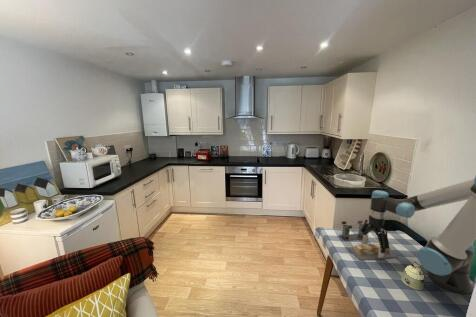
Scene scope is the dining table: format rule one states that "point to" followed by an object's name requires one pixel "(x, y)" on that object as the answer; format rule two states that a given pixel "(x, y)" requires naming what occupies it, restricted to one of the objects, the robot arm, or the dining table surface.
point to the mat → (372, 255)
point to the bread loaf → (368, 249)
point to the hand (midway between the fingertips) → (372, 250)
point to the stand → (351, 237)
